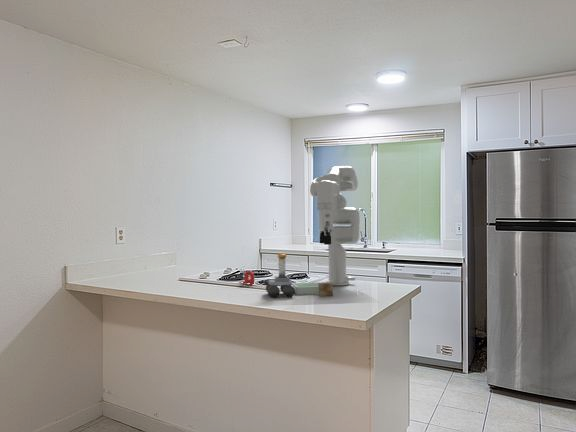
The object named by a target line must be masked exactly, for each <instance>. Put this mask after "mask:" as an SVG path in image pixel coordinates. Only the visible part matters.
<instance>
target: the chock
mask: <svg viewBox="0 0 576 432" xmlns="http://www.w3.org/2000/svg"><path fill="white" fill-rule="evenodd" d="M318 283H319V294H318V297H320V298H321V297H334V285H333V283H331V282H327V281H325V282H323V281H322V282H318Z"/></svg>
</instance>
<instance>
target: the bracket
mask: <svg viewBox="0 0 576 432" xmlns="http://www.w3.org/2000/svg"><path fill="white" fill-rule="evenodd" d="M245 272H246V273H244V275H245V276H244V277H245V278H244V280H241V281H240V282H243V283H250V284H254V282H255V273H254V272H253V271H252V270H246V271H245ZM249 276H250V279H249Z"/></svg>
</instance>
